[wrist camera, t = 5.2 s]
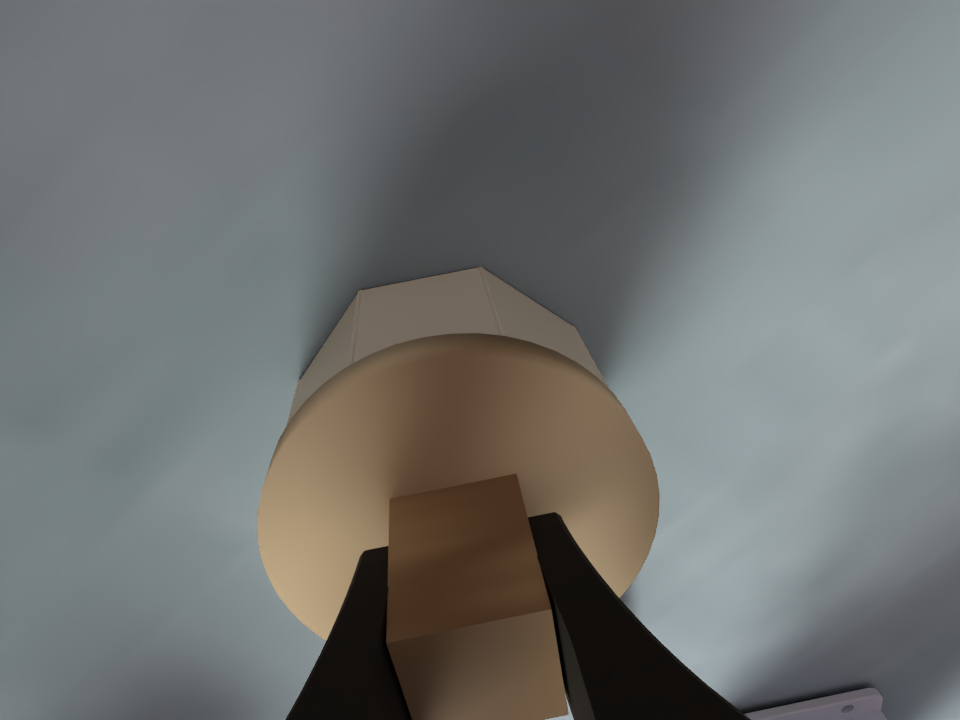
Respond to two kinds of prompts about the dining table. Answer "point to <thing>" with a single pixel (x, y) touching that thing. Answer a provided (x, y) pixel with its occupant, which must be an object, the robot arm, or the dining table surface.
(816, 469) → the dining table surface
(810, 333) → the dining table surface
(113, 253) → the dining table surface
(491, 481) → the lid
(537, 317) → the bowl
